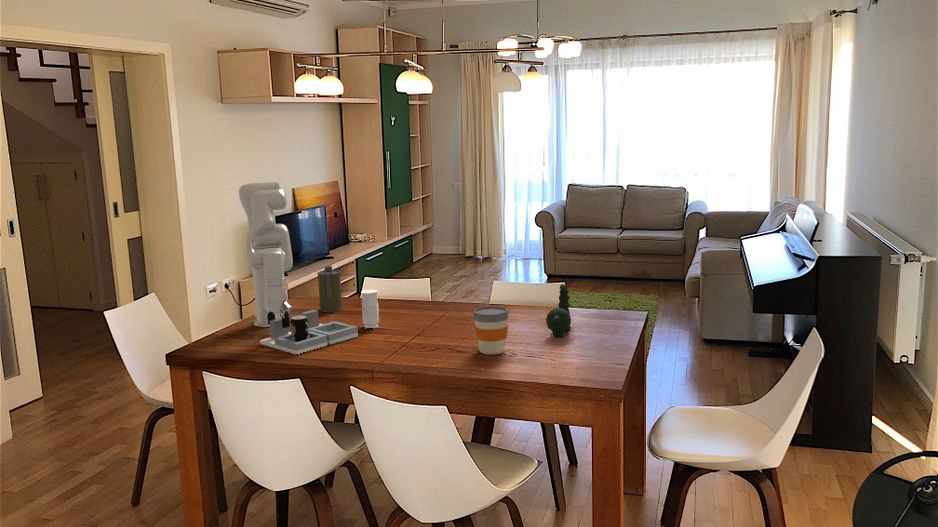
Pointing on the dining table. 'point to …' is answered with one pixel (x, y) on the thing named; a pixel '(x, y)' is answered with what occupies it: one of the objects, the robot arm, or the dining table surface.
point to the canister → (330, 290)
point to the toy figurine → (560, 315)
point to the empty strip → (330, 328)
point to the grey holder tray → (284, 339)
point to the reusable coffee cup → (491, 328)
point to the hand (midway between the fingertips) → (279, 325)
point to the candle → (370, 308)
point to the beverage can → (299, 328)
